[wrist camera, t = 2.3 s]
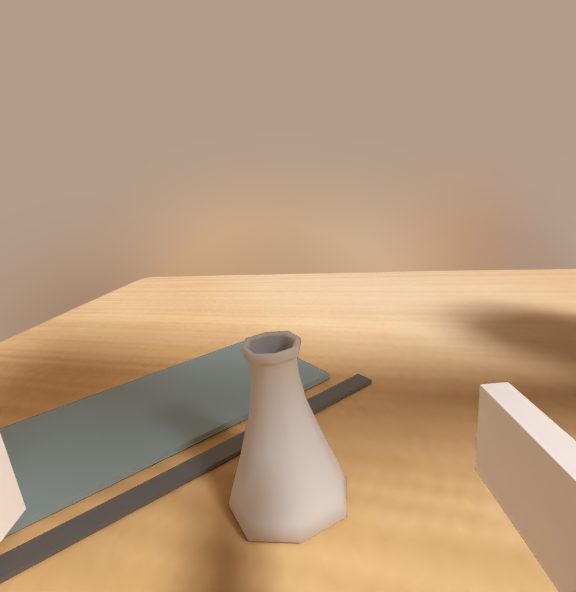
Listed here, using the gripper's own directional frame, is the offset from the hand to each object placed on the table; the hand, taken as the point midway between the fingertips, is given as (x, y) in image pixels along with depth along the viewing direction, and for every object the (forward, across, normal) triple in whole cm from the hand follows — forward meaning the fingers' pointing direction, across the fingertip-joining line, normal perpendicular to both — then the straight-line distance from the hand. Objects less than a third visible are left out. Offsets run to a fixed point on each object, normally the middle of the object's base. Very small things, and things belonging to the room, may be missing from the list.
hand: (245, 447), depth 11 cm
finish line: (+14, -4, -11) cm, 18 cm away
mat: (+21, -10, -11) cm, 26 cm away
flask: (+10, +1, -11) cm, 15 cm away
